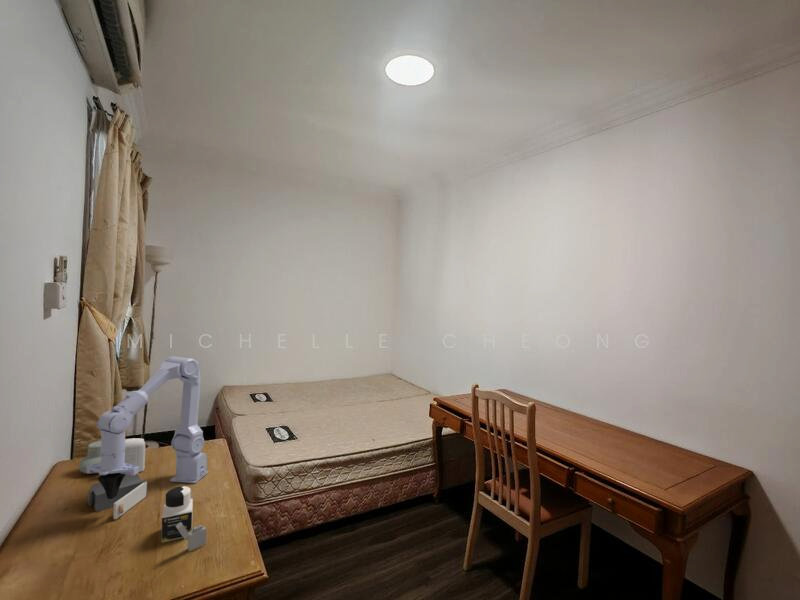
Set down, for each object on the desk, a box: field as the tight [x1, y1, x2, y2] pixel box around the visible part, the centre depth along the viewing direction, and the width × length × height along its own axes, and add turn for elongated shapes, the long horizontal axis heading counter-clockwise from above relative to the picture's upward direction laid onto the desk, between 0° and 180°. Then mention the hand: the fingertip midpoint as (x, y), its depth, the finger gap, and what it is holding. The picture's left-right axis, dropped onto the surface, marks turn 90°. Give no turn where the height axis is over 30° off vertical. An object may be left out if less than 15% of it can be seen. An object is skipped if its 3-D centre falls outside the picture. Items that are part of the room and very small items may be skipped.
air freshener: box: [78, 440, 101, 475], centre depth 139 cm, size 11×8×10 cm
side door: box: [113, 480, 148, 520], centre depth 117 cm, size 13×2×5 cm, turn 178°
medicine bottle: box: [161, 485, 194, 543], centre depth 106 cm, size 7×7×12 cm
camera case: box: [87, 473, 144, 513], centre depth 121 cm, size 13×9×6 cm
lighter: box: [176, 522, 208, 552], centre depth 99 cm, size 7×2×8 cm, turn 137°
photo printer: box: [125, 437, 146, 473], centre depth 138 cm, size 10×4×12 cm, turn 123°
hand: (112, 497), depth 113 cm, fingers closed
